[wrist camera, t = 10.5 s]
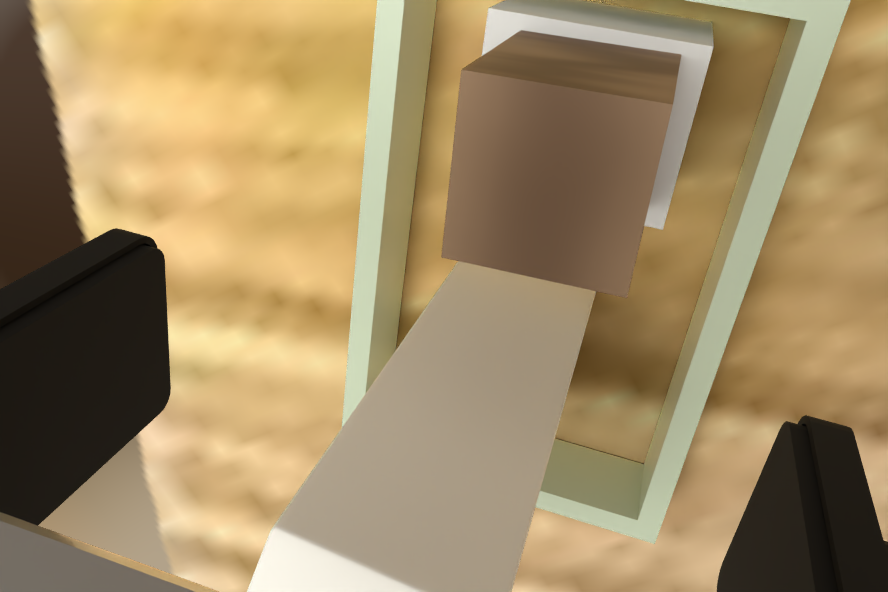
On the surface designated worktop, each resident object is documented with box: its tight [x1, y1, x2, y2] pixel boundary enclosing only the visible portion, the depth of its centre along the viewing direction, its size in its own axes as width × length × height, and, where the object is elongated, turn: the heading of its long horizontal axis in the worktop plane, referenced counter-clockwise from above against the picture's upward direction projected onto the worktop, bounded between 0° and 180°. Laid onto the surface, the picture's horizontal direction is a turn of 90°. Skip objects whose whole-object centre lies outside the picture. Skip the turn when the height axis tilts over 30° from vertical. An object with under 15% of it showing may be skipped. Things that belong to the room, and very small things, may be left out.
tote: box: [342, 0, 851, 544], centre depth 32 cm, size 15×23×4 cm, turn 172°
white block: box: [482, 0, 714, 230], centre depth 28 cm, size 7×6×6 cm
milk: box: [247, 261, 596, 592], centre depth 27 cm, size 6×6×22 cm
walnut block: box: [442, 30, 681, 298], centre depth 22 cm, size 5×5×7 cm
